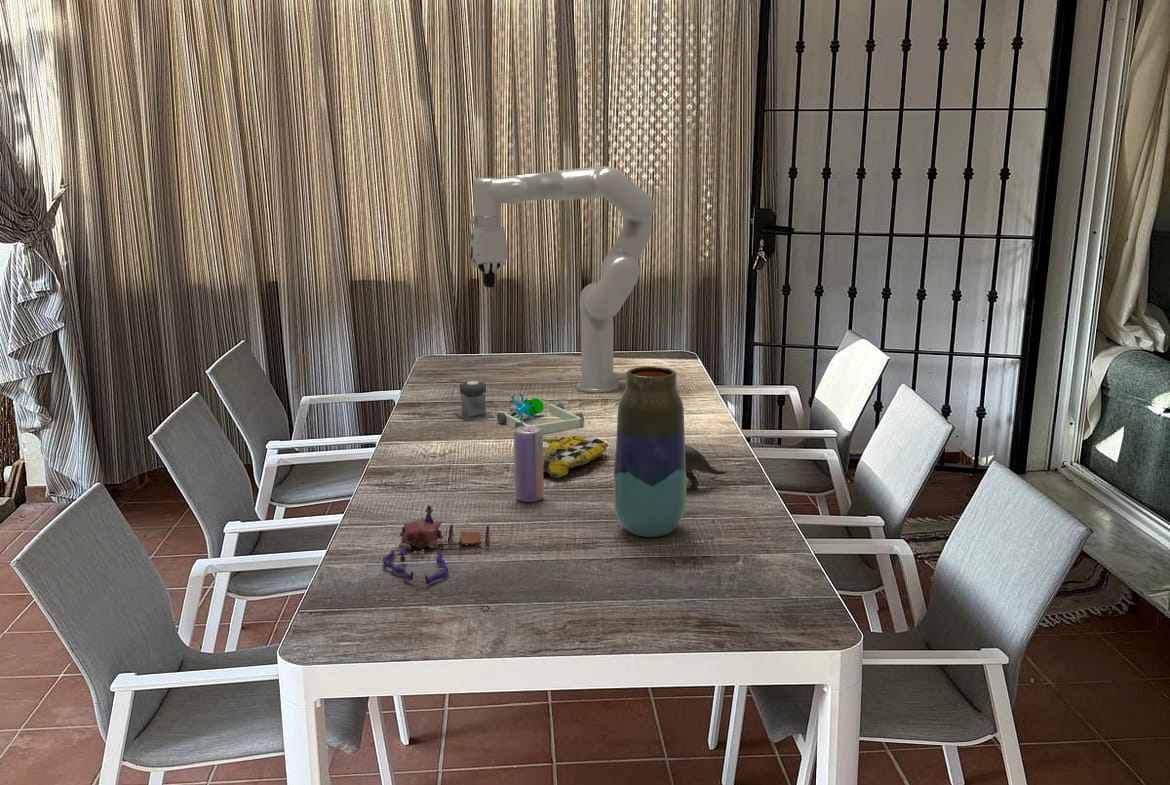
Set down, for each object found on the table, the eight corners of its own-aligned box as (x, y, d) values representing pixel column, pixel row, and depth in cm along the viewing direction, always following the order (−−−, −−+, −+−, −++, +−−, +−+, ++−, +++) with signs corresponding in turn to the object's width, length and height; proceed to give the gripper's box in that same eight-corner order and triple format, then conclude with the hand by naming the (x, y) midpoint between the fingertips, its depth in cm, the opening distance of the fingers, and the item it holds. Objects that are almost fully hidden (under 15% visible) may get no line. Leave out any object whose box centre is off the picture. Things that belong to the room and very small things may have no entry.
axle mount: (481, 410, 288) (480, 389, 287) (493, 417, 281) (492, 395, 280) (454, 414, 284) (453, 393, 283) (465, 421, 277) (465, 399, 276)
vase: (664, 548, 191) (667, 383, 183) (600, 534, 198) (600, 374, 191) (697, 525, 202) (701, 368, 195) (635, 512, 209) (636, 360, 202)
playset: (488, 583, 177) (487, 546, 176) (376, 588, 176) (374, 550, 174) (489, 530, 201) (488, 496, 200) (390, 533, 200) (389, 499, 198)
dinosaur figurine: (727, 487, 224) (729, 437, 221) (719, 500, 216) (721, 448, 213) (630, 477, 231) (630, 429, 228) (619, 489, 223) (619, 439, 220)
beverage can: (522, 504, 214) (520, 434, 211) (510, 495, 219) (509, 427, 216) (548, 499, 217) (547, 430, 213) (536, 491, 222) (535, 423, 219)
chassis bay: (555, 411, 286) (555, 401, 286) (587, 427, 271) (587, 416, 270) (494, 420, 278) (493, 410, 277) (523, 437, 262) (523, 425, 262)
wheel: (480, 396, 286) (479, 378, 285) (490, 401, 280) (489, 383, 279) (456, 399, 283) (455, 381, 282) (466, 405, 277) (465, 386, 276)
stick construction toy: (520, 420, 271) (509, 394, 273) (504, 432, 276) (493, 405, 277) (551, 415, 280) (540, 389, 282) (535, 426, 285) (524, 401, 286)
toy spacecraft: (507, 474, 235) (506, 452, 234) (556, 448, 254) (556, 428, 253) (571, 484, 227) (571, 463, 226) (617, 457, 247) (617, 437, 246)
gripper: (468, 224, 287) (470, 290, 291) (517, 222, 294) (518, 286, 298) (457, 222, 293) (459, 287, 297) (505, 220, 300) (507, 283, 304)
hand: (489, 286), depth 298 cm, fingers closed
